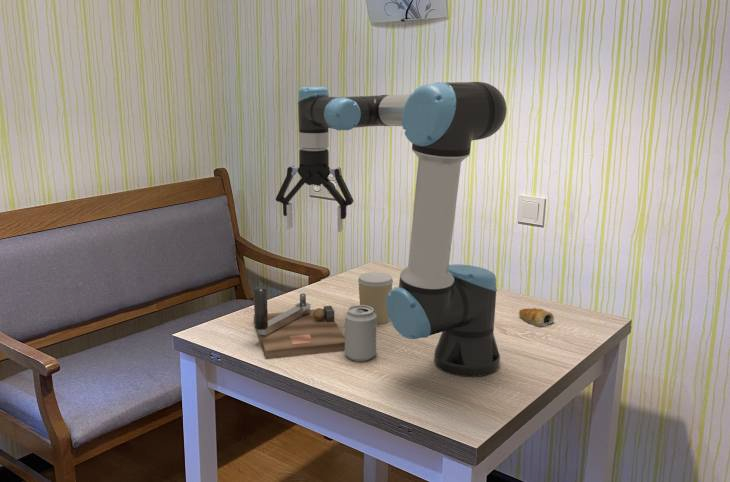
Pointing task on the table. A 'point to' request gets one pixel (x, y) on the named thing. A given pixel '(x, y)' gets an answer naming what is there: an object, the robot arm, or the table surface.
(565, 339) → the table surface
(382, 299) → the coffee cup
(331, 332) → the nutcracker board
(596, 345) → the table surface
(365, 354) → the can
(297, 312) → the lever
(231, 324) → the table surface
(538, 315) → the pastry
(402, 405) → the table surface
